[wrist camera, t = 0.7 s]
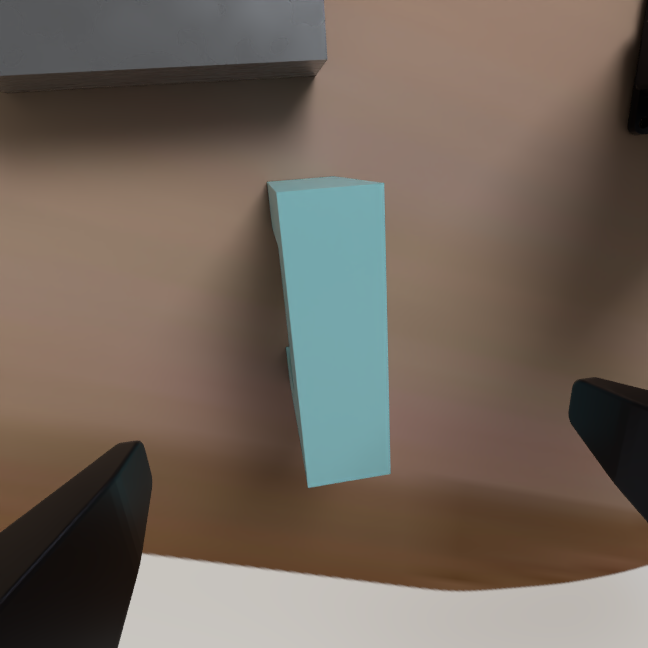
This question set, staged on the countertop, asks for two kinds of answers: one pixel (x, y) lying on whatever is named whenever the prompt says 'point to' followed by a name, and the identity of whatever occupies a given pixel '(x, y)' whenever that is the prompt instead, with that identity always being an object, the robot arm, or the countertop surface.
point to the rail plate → (156, 42)
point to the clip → (335, 322)
